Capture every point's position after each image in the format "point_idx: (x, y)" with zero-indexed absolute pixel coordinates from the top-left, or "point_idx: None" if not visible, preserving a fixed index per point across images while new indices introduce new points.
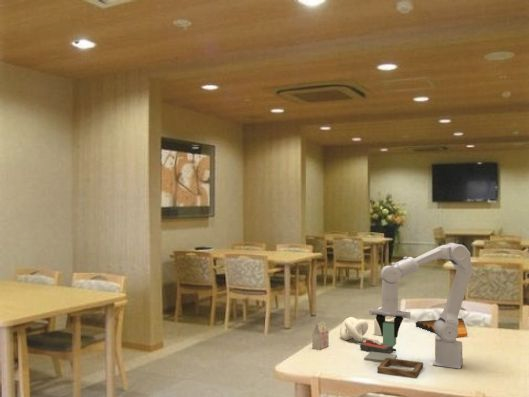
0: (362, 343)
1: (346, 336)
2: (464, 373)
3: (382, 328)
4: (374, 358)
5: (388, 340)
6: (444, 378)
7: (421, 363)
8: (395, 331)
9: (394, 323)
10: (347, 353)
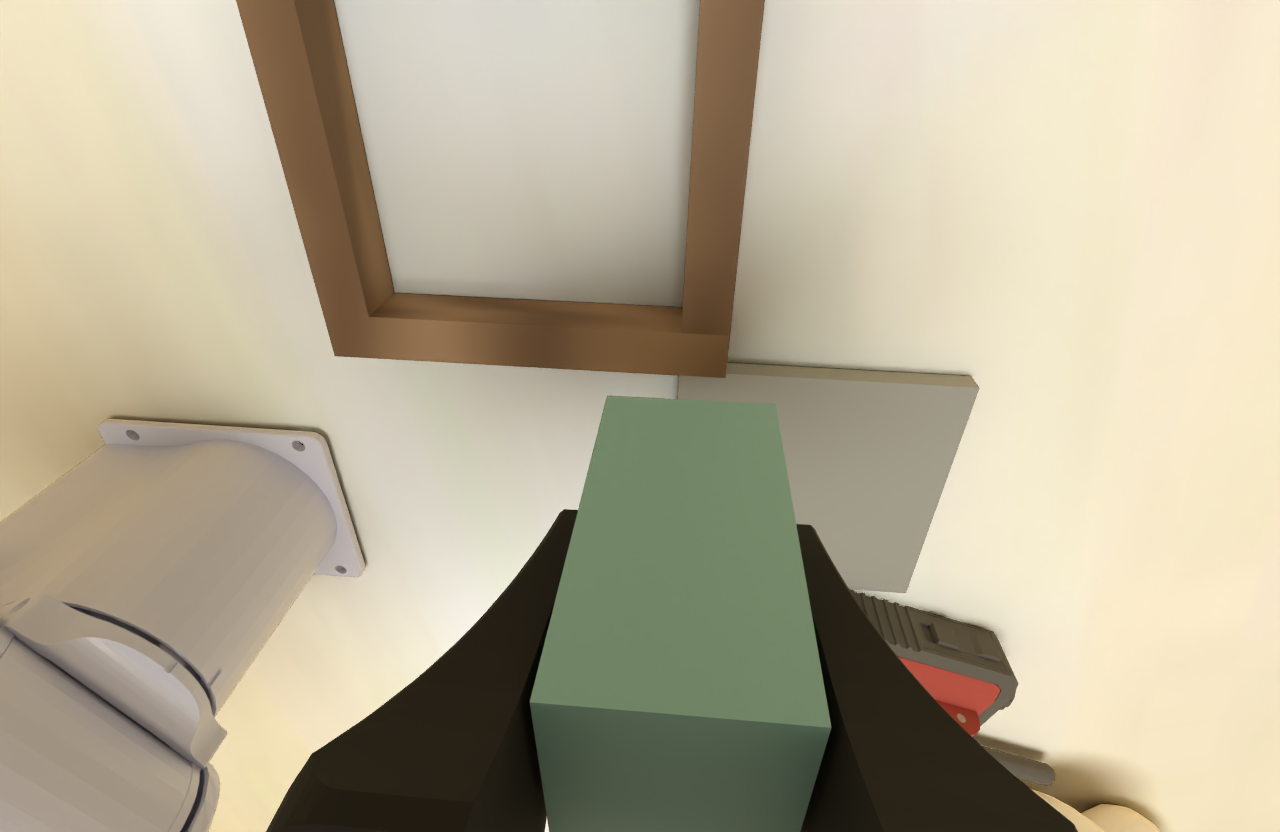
0: (1004, 693)
1: (1128, 828)
2: (4, 313)
3: (820, 622)
4: (861, 402)
5: (685, 445)
6: (14, 42)
7: (327, 308)
8: (545, 577)
9: (509, 714)
10: (1143, 522)
